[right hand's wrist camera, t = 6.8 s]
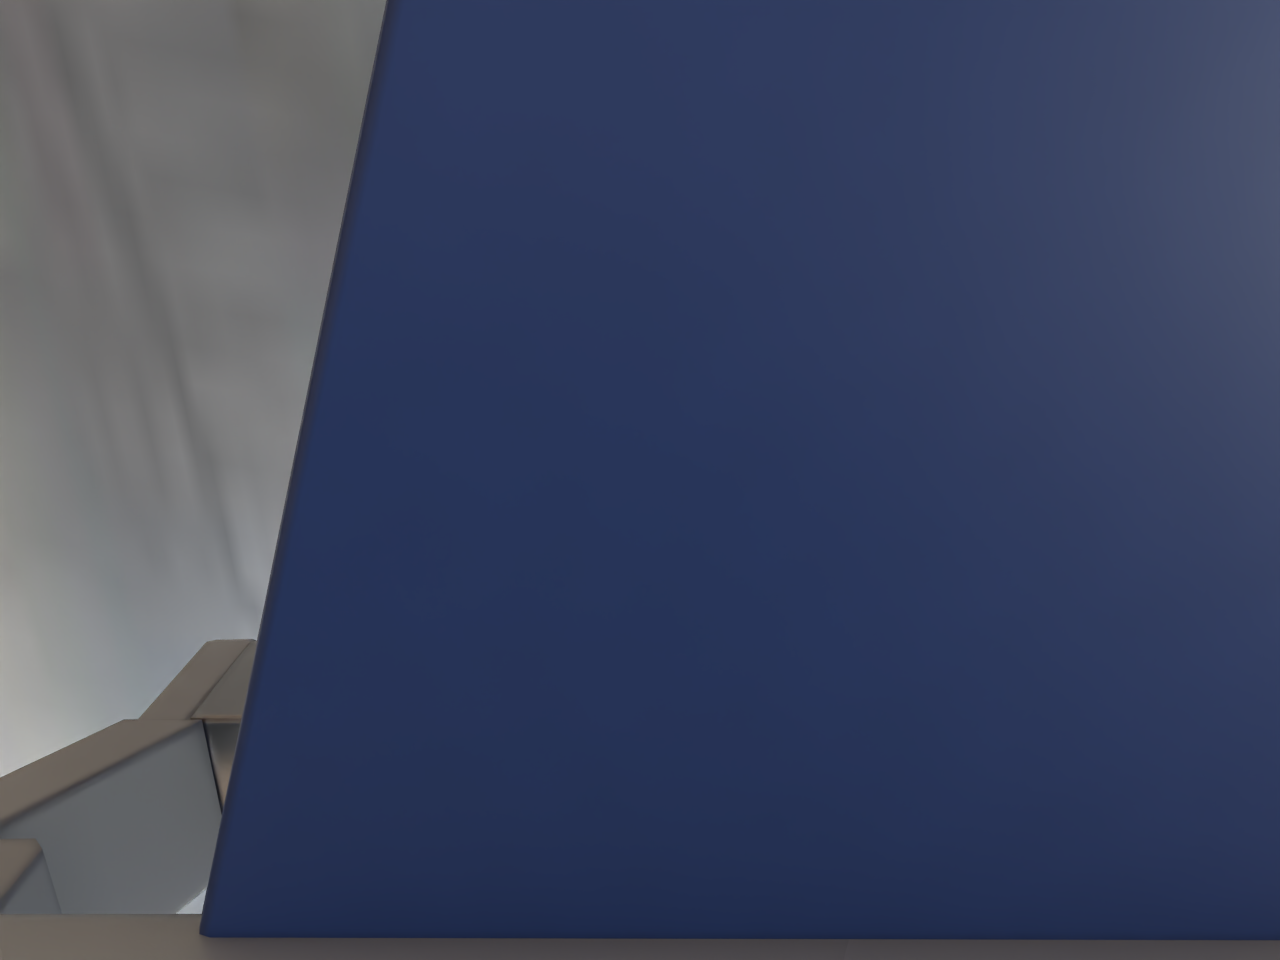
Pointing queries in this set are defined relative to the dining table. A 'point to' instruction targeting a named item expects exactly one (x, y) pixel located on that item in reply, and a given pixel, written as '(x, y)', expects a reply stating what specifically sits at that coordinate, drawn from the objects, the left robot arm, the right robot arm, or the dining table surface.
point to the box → (784, 484)
